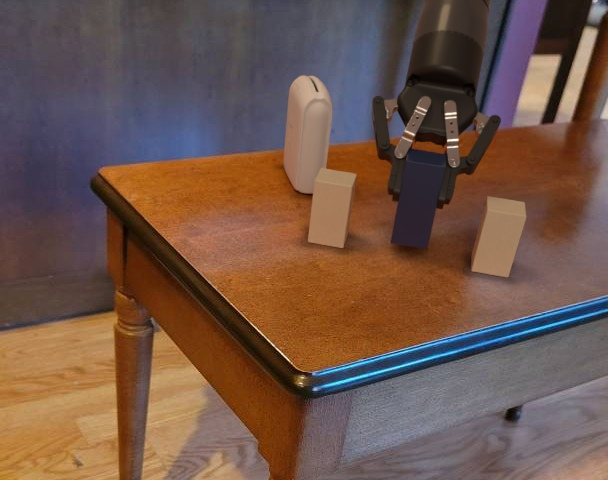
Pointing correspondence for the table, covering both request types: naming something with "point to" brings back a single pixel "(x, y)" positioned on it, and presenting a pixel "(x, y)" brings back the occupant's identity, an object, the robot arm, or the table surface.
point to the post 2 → (498, 236)
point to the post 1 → (331, 207)
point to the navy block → (418, 198)
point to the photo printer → (307, 132)
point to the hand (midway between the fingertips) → (418, 201)
